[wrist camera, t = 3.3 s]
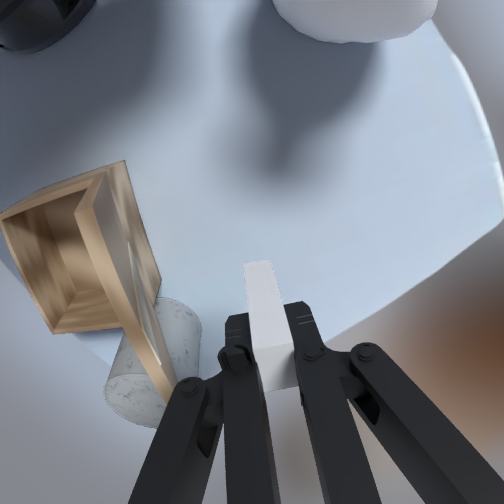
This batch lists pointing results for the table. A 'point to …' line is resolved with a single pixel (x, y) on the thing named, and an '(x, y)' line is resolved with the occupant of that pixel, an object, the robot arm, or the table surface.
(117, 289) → the lid
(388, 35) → the vase
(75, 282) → the box
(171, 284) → the table surface
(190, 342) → the grey cylinder
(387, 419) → the robot arm
